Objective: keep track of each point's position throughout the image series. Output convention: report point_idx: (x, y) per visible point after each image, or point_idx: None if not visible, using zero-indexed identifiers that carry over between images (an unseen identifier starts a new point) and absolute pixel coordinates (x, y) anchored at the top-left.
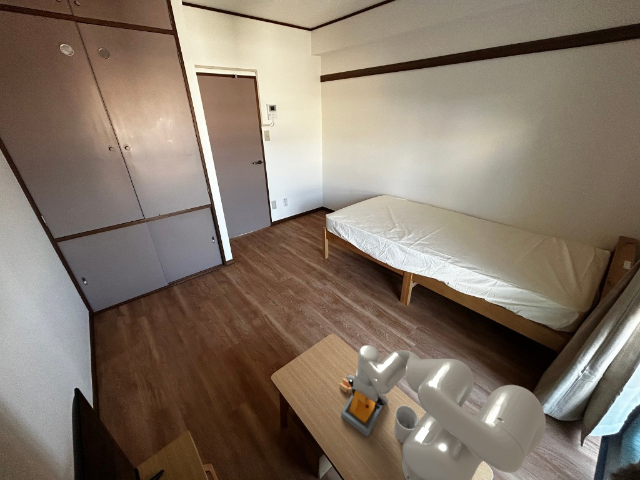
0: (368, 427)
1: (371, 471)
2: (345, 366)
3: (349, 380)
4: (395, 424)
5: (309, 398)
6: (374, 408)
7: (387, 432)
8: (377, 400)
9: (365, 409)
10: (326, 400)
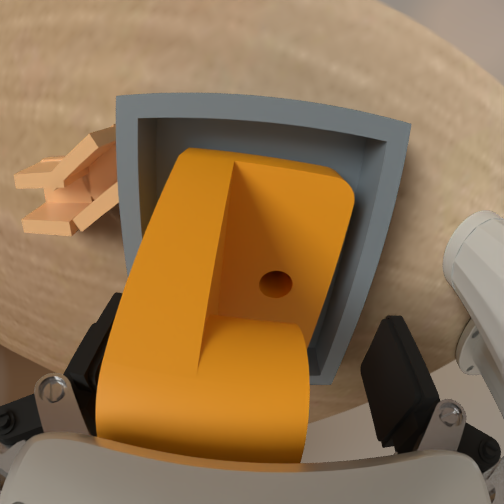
0: (324, 370)
1: (356, 403)
2: (12, 62)
3: (10, 467)
4: (489, 341)
5: (19, 321)
6: (366, 392)
7: (413, 285)
8: (410, 438)
9: (274, 308)
10: (58, 301)
